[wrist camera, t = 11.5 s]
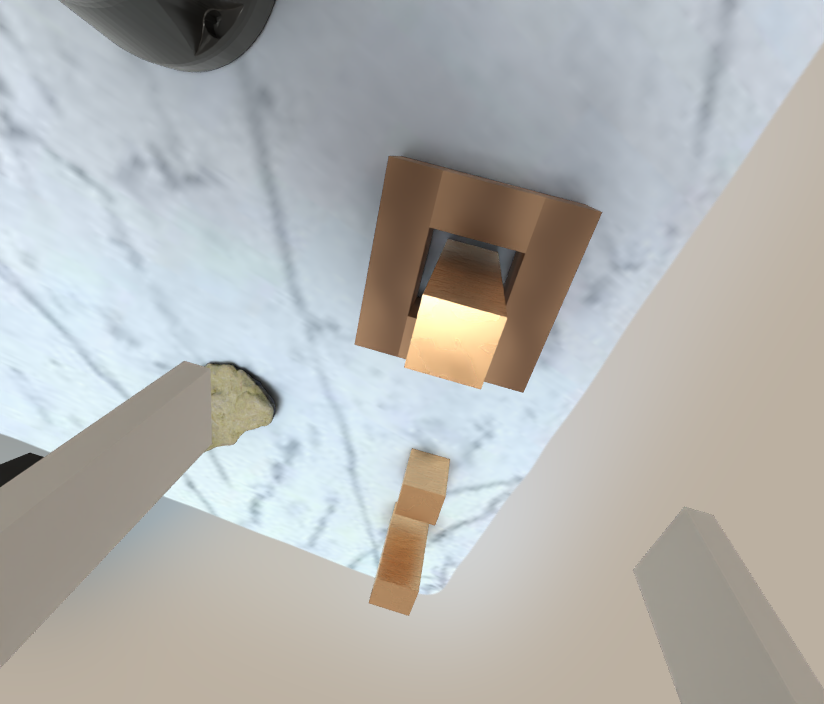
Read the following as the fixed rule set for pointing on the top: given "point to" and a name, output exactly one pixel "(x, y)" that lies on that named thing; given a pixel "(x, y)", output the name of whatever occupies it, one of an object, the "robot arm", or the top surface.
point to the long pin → (459, 316)
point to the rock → (236, 404)
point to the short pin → (423, 487)
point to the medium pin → (400, 565)
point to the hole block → (484, 221)
